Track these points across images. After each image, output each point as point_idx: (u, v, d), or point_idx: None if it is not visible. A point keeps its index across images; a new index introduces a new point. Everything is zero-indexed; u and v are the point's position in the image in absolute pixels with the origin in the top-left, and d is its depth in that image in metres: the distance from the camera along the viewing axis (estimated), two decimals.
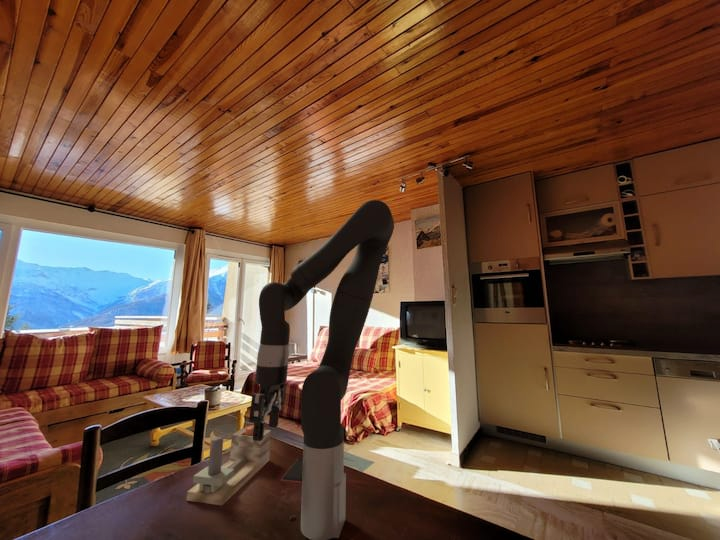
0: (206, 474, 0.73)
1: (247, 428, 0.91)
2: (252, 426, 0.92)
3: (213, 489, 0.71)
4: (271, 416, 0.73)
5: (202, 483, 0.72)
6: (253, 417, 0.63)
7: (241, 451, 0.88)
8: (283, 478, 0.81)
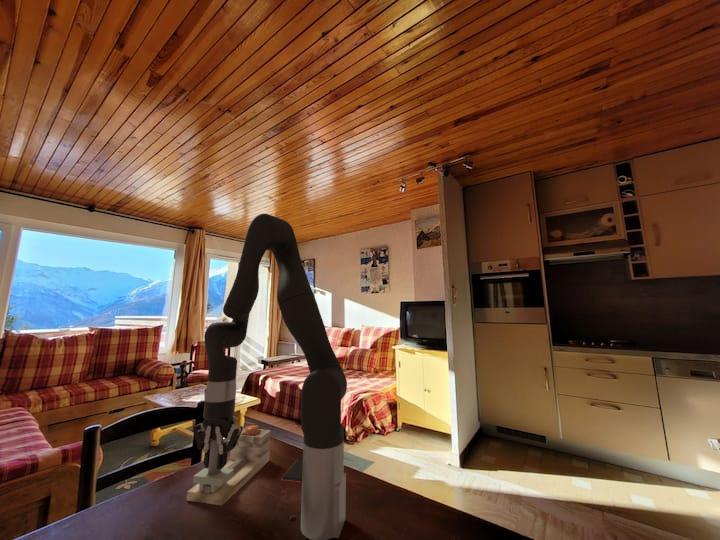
0: (206, 474, 0.73)
1: (247, 428, 0.91)
2: (252, 426, 0.92)
3: (213, 489, 0.71)
4: None
5: (202, 483, 0.72)
6: None
7: (241, 451, 0.88)
8: (283, 478, 0.81)
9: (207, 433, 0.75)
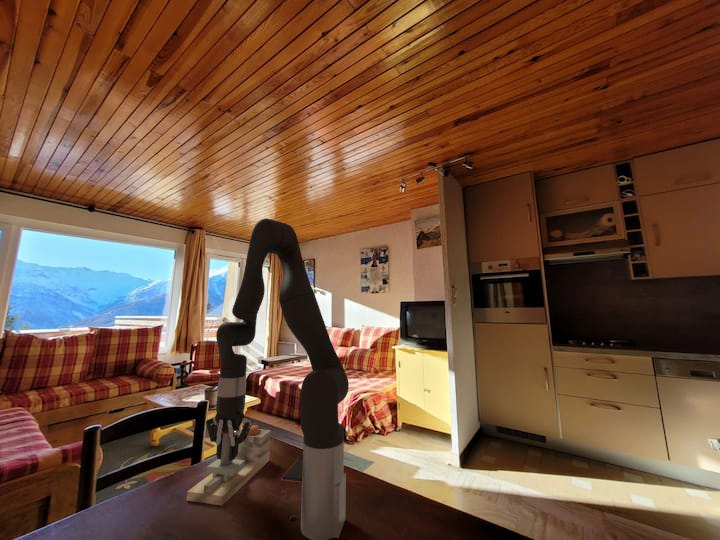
0: (218, 465, 0.78)
1: None
2: (252, 426, 0.92)
3: (226, 478, 0.76)
4: (221, 449, 0.79)
5: (215, 473, 0.76)
6: None
7: (241, 451, 0.88)
8: (283, 478, 0.81)
9: (219, 426, 0.79)
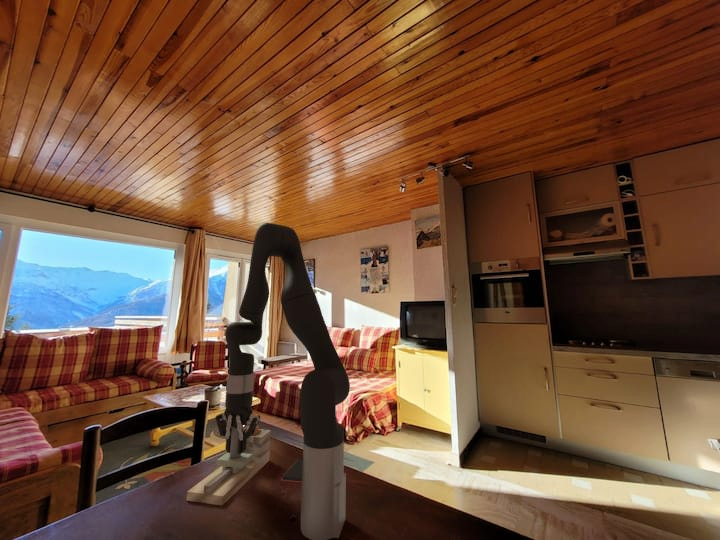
0: (228, 458, 0.82)
1: None
2: None
3: (235, 471, 0.80)
4: (230, 443, 0.83)
5: (225, 466, 0.80)
6: None
7: None
8: (283, 478, 0.81)
9: (228, 421, 0.83)
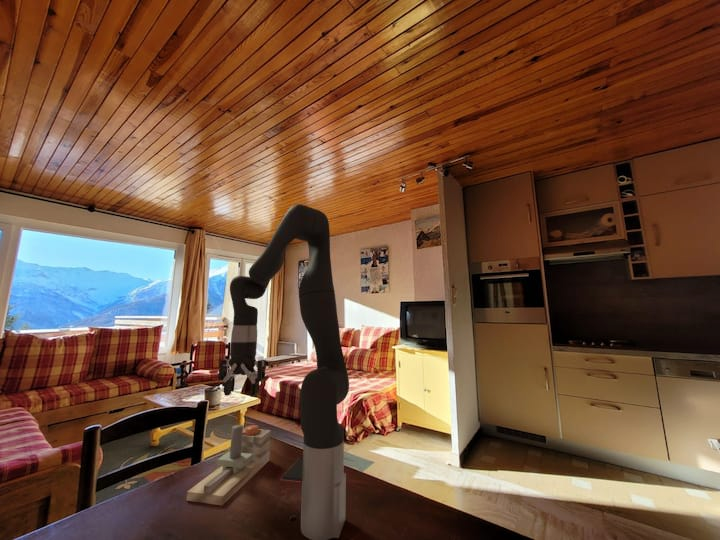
0: (228, 458, 0.82)
1: (247, 428, 0.91)
2: (252, 426, 0.92)
3: (235, 471, 0.80)
4: (228, 386, 0.87)
5: (225, 465, 0.80)
6: (261, 377, 0.85)
7: (241, 451, 0.88)
8: (282, 478, 0.81)
9: (232, 368, 0.86)
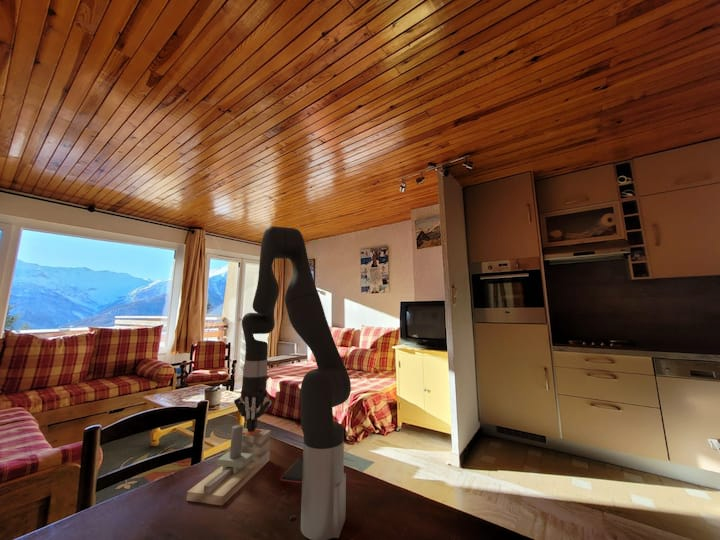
0: (228, 458, 0.82)
1: (247, 431, 0.90)
2: None
3: (235, 471, 0.80)
4: None
5: (225, 465, 0.80)
6: None
7: (241, 451, 0.88)
8: (282, 477, 0.81)
9: (246, 403, 0.91)
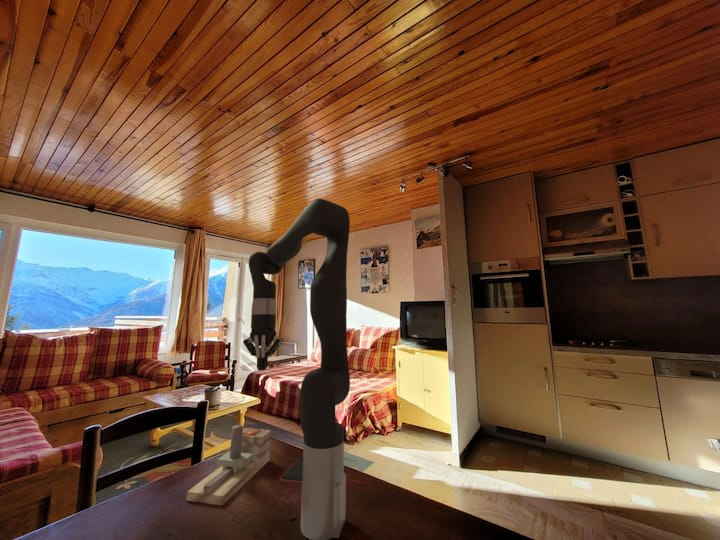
0: (228, 458, 0.82)
1: (247, 432, 0.90)
2: (252, 430, 0.92)
3: (235, 471, 0.80)
4: None
5: (225, 465, 0.80)
6: None
7: (241, 451, 0.88)
8: (282, 477, 0.81)
9: (256, 341, 0.88)
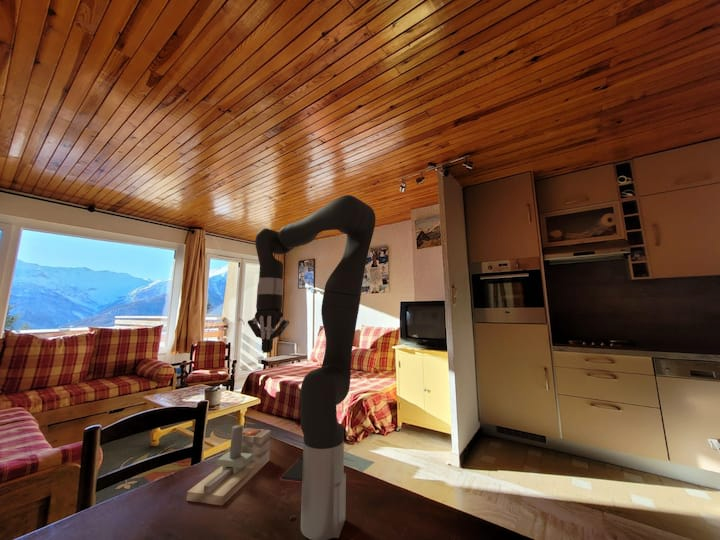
0: (228, 458, 0.82)
1: (247, 432, 0.90)
2: (252, 430, 0.92)
3: (235, 471, 0.80)
4: None
5: (225, 465, 0.80)
6: None
7: (241, 451, 0.88)
8: (282, 477, 0.81)
9: (261, 322, 0.85)
